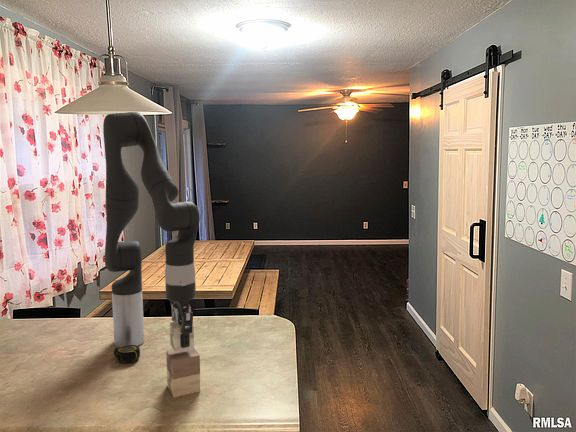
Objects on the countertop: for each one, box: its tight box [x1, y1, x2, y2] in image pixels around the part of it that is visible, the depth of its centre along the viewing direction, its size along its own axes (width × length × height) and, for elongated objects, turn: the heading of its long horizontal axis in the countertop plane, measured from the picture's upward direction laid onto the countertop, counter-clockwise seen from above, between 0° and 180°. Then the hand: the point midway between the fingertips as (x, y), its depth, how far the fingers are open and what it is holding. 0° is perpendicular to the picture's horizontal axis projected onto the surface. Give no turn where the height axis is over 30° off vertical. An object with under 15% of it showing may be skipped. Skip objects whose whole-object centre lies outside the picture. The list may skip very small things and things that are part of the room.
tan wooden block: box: [166, 368, 201, 398], centre depth 131 cm, size 7×7×5 cm
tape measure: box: [113, 345, 141, 363], centre depth 148 cm, size 7×7×4 cm
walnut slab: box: [165, 347, 201, 379], centre depth 131 cm, size 7×7×5 cm
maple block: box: [169, 321, 195, 352], centre depth 129 cm, size 5×5×6 cm
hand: (182, 342), depth 130 cm, fingers closed on maple block, 5 cm apart
